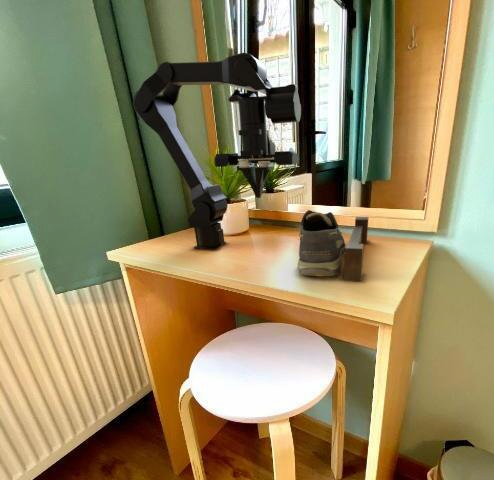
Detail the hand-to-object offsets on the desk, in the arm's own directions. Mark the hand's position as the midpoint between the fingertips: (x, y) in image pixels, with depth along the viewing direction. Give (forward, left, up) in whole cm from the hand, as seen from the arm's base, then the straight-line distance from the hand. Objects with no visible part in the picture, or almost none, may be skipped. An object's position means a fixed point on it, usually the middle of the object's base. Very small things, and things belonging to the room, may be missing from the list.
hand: (258, 197), depth 73 cm
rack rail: (+23, -2, -13) cm, 27 cm away
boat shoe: (+16, -3, -13) cm, 21 cm away
